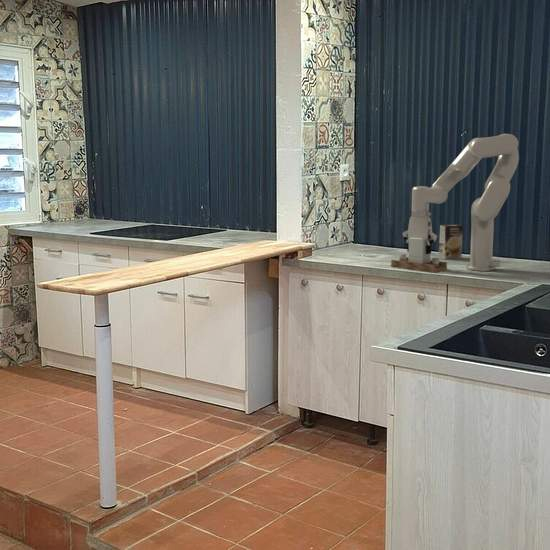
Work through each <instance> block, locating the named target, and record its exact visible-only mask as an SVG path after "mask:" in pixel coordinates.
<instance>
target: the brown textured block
mask: <svg viewBox="0 0 550 550" xmlns="http://www.w3.org/2000/svg"><path fill="white" fill-rule="evenodd" d="M390 261H391V262H390V264H391V265H390V267H391V268H395V267H397V269H402V268H403V270H404V269H405V270H413V271H417V272H418V271H419V272H427V273H437V272H441V271H445V270H447V267H448V261H442V260H441V261H440V258H439V257H433V258H432V259H430V262H428V263H424V264H422V263H414V262H409V256H408V257H407V254H404V253H401V254H399V259H398V260H397V259H391V260H390Z"/></svg>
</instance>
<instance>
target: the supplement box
mask: <svg viewBox="0 0 550 550" xmlns="http://www.w3.org/2000/svg"><path fill="white" fill-rule="evenodd" d="M426 245H427V243H426V241H425V240H424V239H421V238H409V252H408V258H409V262H414V263H422V264H424V263H428V262H430V260H431V256H432V255H431V254H426Z"/></svg>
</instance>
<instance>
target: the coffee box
mask: <svg viewBox="0 0 550 550" xmlns="http://www.w3.org/2000/svg"><path fill="white" fill-rule="evenodd" d="M463 229H464V226H463V225H461V224H440V225H439V241H438V242H439V243H438V244H439V245H438V258H439V259H441V260H461V259H462V255H463V254H462V252H463V251H462V250H463V233H464V230H463Z"/></svg>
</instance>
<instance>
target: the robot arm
mask: <svg viewBox="0 0 550 550" xmlns="http://www.w3.org/2000/svg"><path fill="white" fill-rule="evenodd" d="M518 147H519V140H518V138H517V136H515V135H513V134H511V133H501V134H499V135H495V136H488V137H475V138H472V139H471V140H470V141H469V142H468V143H467V144H466V145H465V147H464V148H463V149H462V151H461V152H459V154H458V155H457V157H456V158H455V159H454V160H453V161H452V162H451V163H450V165H449V166H448V167H447V168H446V169H445V170H444V172H442V174H441V175H439V177H438V178H437V180H436V181H435V182H434V183H433V184H431V185H432V186H431V187H430V186H429V187H428V186H424V185H421V186H413V187H412V190H411V214H410V217H409V221H408V222H409V223H408V229H407V230H405V231H403V232H402V236H403V239H404V241H405V242H406V250H407V253H409V238H421V239H424V240H425V241H426V243H427V245H426V254H431V253H432V249H433V244H434V243H436V240H437V238H438V235H437V234H436V233H434V232H433V227H432V225H433V224H432V220H431V217H430V216H431V215H432V213H431V212H430V203H431V204H439V205H441V204H443V203H445V202H446V201H447V199H448V197H449V196H448V195H449V194H448V193H449V192H450V191H451V190H452V188H453V187H455V186H456V184H458V182H460V181H461V180H463V179H464V178H466V177H467V176H468V175H469V174H470V172H471V171H472V170H473V169H474V168H475V167H476V165H478V164H479V162H480V161H481V160H482V159H487V158H492V157H497V161H496V164H495V165H494V168H493V170H492V171H491V173H490V175H489V176H488V178H487V180H486V181H485V184H484V191H483V193H482V195H481V197H478V198H476V199H475V200H473V202H472V204H471V207H470V215H471V216H470V219H471V221H470V222H471V224H470V225H471V230H470V249H469V250H470V251H469V252H470V253H469V256H470V257H469V264H467V265H466V266H465V268H466V270H470V271H477V272H490V271H495V270H496V268H500V266H501V262H499V261H495V258H493V254H494V253H493V251H494V247H493V245H494V229H495V221H494V219H495V218H496V217H497V216H498V214H499V213H500V210H501V209H502V207H503V205H504V203H505V201H506V200H507V198H508V196H509V194H510V191H511V182H510V181H511V180H512V178H513V176H514V174H515V171H516V169H517V168H518V165H519V160H520V155H519V149H518Z"/></svg>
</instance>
